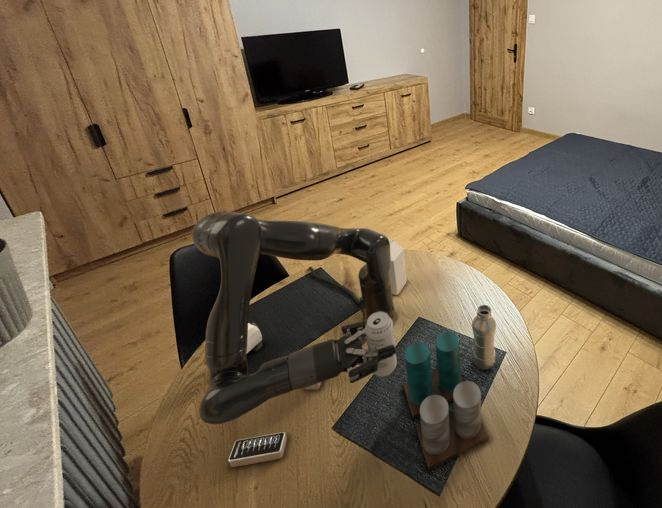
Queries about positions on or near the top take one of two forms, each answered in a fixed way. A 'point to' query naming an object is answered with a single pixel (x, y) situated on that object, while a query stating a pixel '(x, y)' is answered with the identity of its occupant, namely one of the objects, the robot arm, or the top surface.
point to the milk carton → (397, 267)
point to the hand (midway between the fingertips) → (391, 337)
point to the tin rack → (451, 424)
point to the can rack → (437, 381)
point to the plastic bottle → (484, 338)
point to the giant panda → (254, 337)
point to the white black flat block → (258, 449)
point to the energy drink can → (381, 340)
